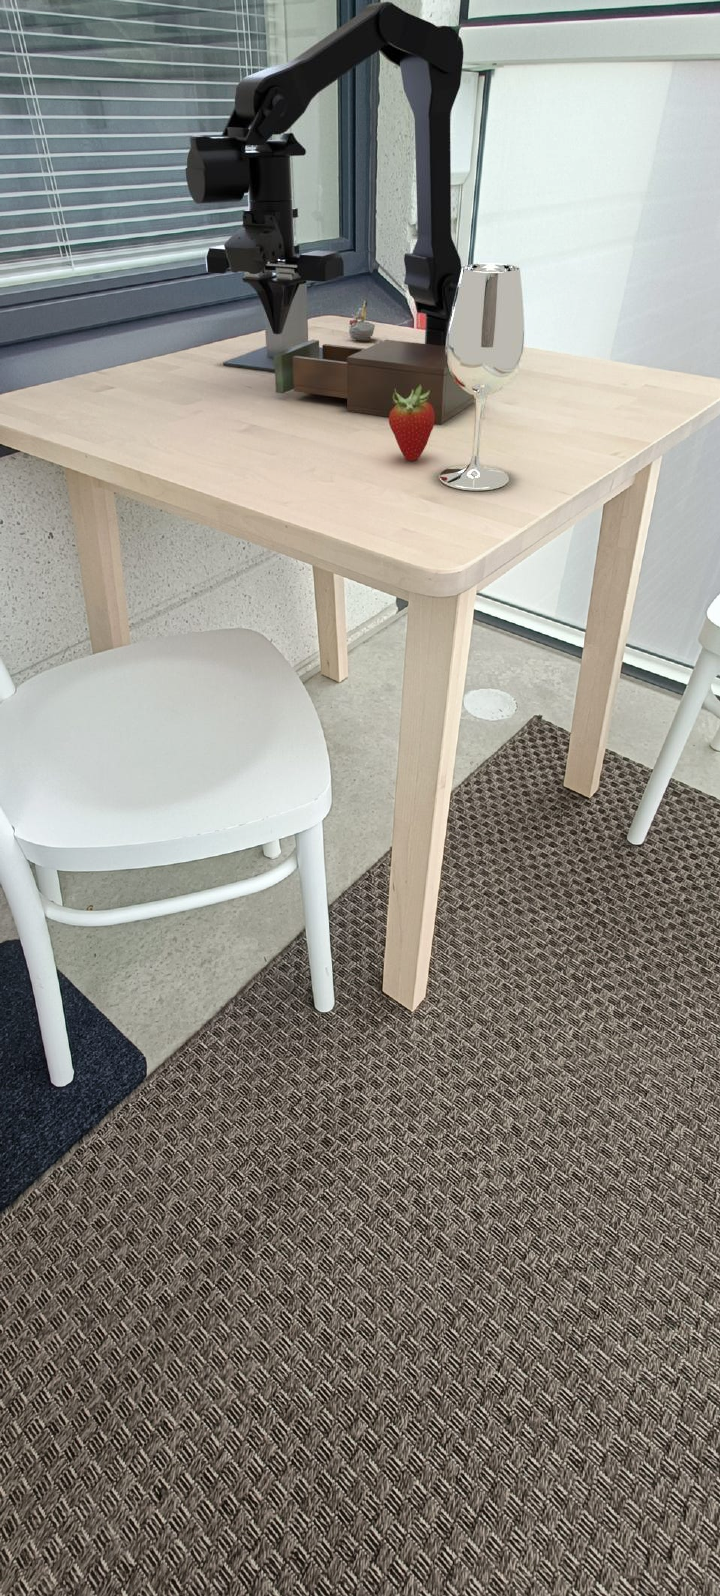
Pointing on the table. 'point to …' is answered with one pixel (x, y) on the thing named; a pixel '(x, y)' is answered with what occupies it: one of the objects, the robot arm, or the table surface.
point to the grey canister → (290, 325)
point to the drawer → (313, 369)
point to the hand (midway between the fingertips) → (277, 333)
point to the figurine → (361, 326)
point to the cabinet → (403, 379)
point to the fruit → (412, 423)
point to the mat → (257, 360)
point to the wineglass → (484, 353)
